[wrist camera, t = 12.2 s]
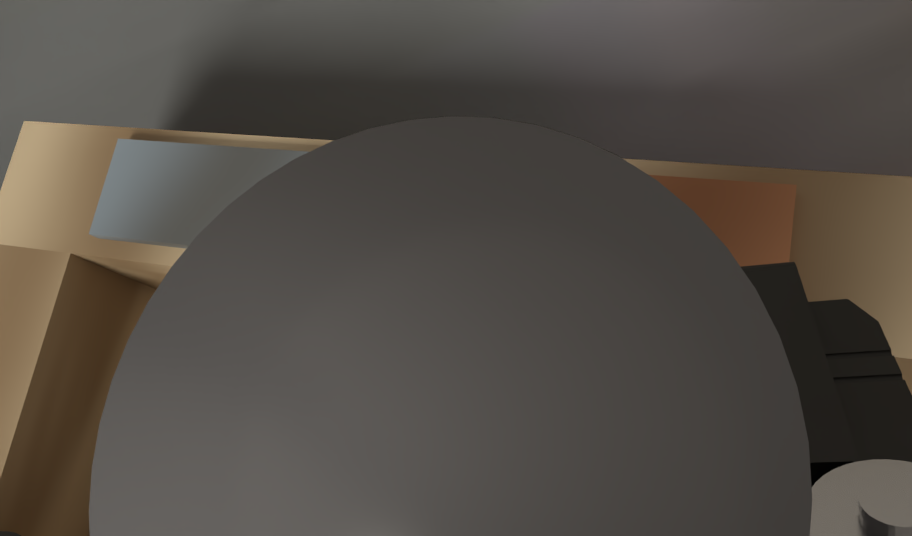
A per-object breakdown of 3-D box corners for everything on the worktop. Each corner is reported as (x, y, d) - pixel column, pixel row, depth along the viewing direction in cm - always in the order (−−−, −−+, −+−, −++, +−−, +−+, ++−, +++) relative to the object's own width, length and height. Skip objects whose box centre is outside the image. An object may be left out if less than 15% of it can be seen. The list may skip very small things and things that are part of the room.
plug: (432, 509, 15) (-21, 470, 6) (598, 325, 15) (411, 3, 6) (621, 714, 13) (401, 1125, 4) (808, 503, 13) (1007, 436, 4)
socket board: (21, 557, 21) (-140, 564, 17) (133, 184, 23) (14, 115, 19) (915, 808, 15) (989, 913, 11) (945, 258, 17) (1015, 175, 13)
